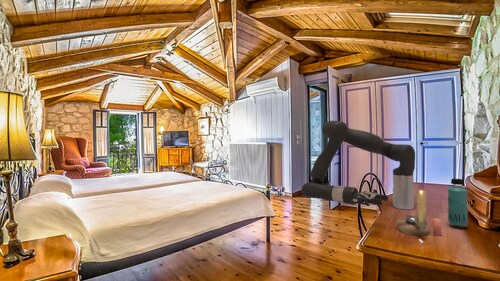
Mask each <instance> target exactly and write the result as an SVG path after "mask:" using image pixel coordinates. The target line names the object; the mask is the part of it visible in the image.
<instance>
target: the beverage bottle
mask: <svg viewBox="0 0 500 281" xmlns="http://www.w3.org/2000/svg"><path fill="white" fill-rule="evenodd" d="M450 184H451V186H450V187H448V188H447V204H448V205H447V215H448V216H447V220H448V221H447V222H448V223H449V224H451V225H452V226H453V225H454V226H456V227H467V226H468V224H469V217H468V216H469V215H468V214H469V212H468V211H469V209H468V190H467V189H466V188H465V187H463V186H464V185H465V182H464V179H462V178H451V179H450ZM455 185H457V186H455ZM462 185H463V186H462Z"/></svg>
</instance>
